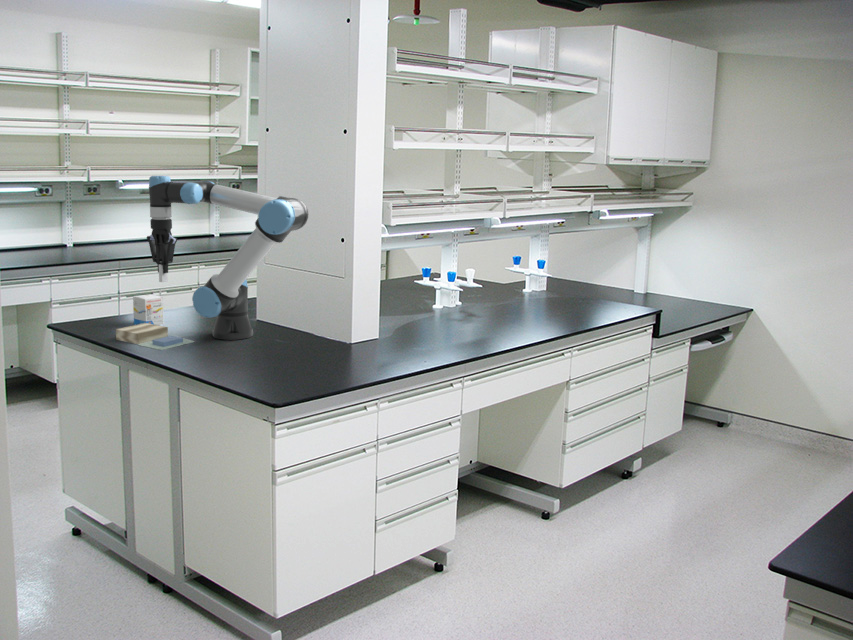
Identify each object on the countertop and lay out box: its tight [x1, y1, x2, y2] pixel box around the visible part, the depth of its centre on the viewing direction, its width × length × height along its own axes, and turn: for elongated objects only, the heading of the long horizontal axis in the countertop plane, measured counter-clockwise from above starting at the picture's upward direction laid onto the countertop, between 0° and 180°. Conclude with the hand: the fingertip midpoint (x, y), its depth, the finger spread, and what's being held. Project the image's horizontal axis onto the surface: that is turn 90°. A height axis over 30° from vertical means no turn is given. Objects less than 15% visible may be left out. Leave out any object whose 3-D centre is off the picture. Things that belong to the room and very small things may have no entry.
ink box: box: [132, 293, 164, 326], centre depth 327 cm, size 9×8×12 cm
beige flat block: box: [115, 323, 169, 345], centre depth 304 cm, size 12×14×4 cm
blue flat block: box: [152, 335, 184, 347], centre depth 298 cm, size 6×9×2 cm, turn 150°
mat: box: [137, 338, 195, 351], centre depth 298 cm, size 12×16×1 cm
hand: (163, 281), depth 302 cm, fingers closed
